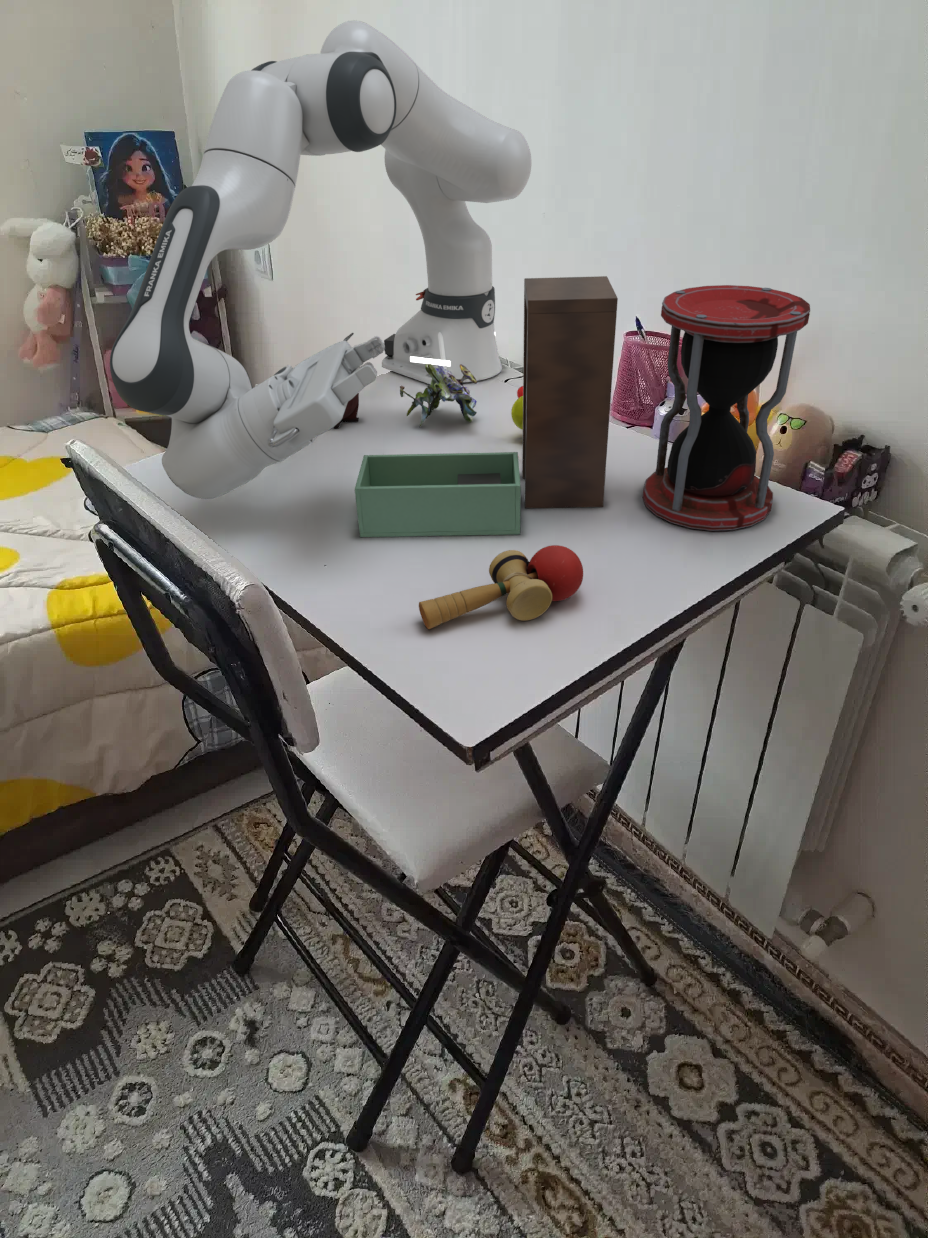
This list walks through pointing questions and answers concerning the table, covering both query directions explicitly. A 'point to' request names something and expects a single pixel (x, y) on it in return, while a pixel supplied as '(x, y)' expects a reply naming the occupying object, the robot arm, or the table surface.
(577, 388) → the shelf stand
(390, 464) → the bin
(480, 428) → the table surface
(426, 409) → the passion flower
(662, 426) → the hourglass
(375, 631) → the table surface
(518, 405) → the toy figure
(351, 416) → the mate gourd
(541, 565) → the kendama
